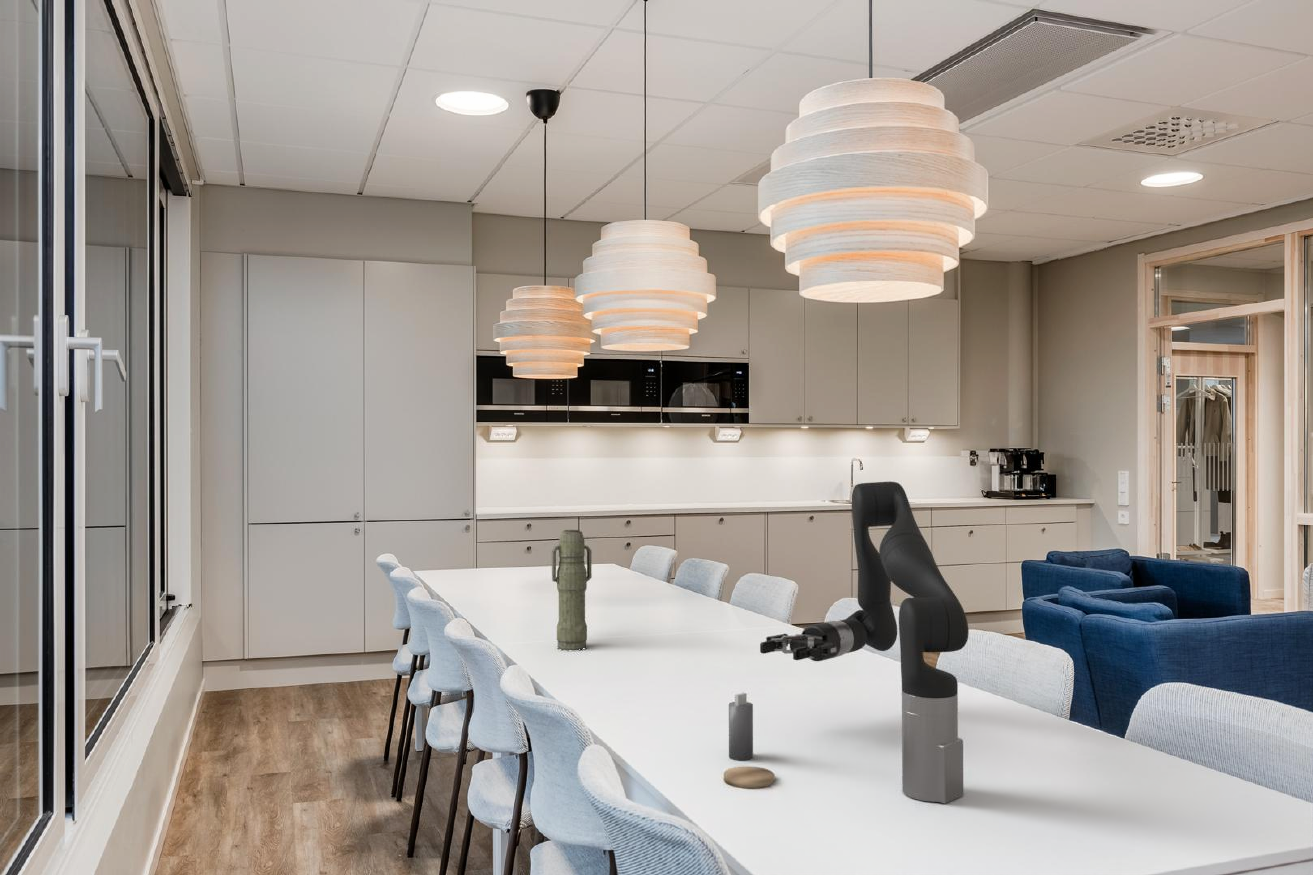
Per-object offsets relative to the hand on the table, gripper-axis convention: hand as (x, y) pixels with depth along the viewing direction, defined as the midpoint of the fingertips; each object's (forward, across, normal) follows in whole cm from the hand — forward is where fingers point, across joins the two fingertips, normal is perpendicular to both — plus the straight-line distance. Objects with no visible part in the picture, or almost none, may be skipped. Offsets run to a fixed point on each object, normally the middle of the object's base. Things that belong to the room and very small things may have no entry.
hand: (777, 651), depth 199 cm
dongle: (+11, 0, +18) cm, 22 cm away
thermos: (-32, -106, +20) cm, 112 cm away
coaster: (+20, +10, +18) cm, 29 cm away
